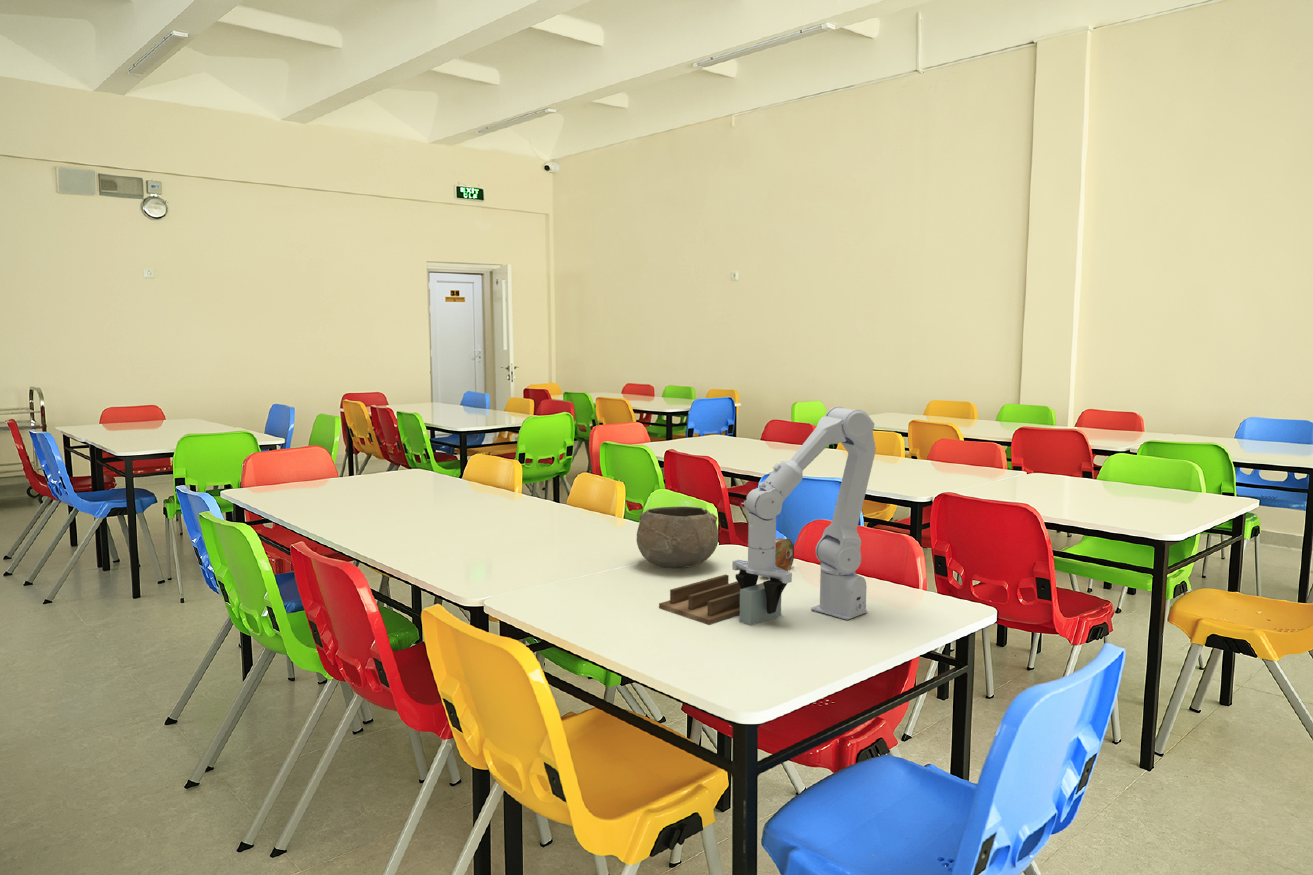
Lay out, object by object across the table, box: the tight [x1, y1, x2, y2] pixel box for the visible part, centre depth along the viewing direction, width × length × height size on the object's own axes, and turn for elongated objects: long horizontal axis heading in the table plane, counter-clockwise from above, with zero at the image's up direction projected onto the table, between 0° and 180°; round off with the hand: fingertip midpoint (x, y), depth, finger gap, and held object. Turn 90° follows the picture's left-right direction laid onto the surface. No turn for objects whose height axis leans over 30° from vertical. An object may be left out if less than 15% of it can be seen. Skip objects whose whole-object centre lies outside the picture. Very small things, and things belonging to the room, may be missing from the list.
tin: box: [775, 537, 795, 572], centre depth 214 cm, size 15×3×8 cm, turn 143°
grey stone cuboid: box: [739, 582, 782, 626], centre depth 179 cm, size 3×10×7 cm, turn 133°
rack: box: [658, 574, 741, 626], centre depth 188 cm, size 15×22×4 cm
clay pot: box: [636, 506, 719, 569], centre depth 219 cm, size 21×21×15 cm
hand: (760, 609), depth 179 cm, fingers open, 5 cm apart
